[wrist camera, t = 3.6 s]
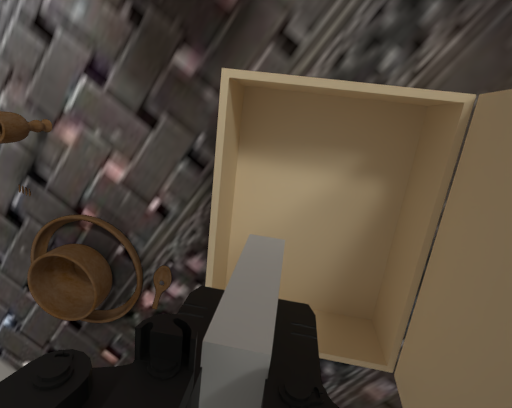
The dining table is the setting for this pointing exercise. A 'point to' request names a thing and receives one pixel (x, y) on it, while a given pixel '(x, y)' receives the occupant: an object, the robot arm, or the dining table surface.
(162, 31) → the dining table surface
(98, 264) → the place setting
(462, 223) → the lid
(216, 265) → the box
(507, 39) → the dining table surface
